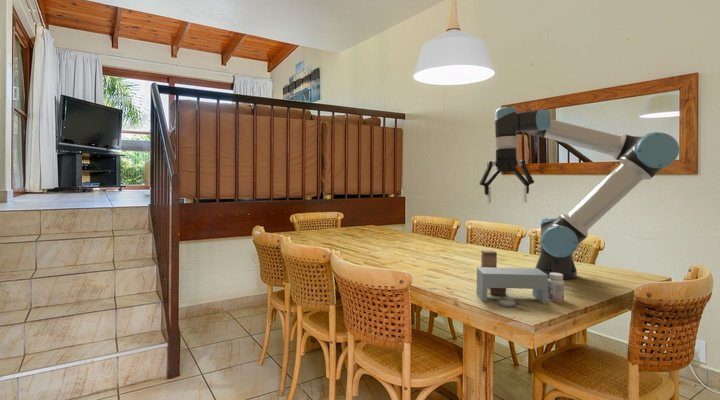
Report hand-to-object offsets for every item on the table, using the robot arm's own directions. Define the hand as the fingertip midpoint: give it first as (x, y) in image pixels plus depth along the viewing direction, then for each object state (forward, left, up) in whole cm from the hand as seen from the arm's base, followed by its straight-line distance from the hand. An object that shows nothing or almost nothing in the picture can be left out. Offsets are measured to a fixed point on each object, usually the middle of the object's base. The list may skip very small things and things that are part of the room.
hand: (506, 202), depth 151 cm
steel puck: (+8, +34, -30) cm, 46 cm away
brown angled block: (+8, +14, -30) cm, 34 cm away
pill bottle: (-9, +27, -30) cm, 41 cm away
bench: (+5, +26, -30) cm, 40 cm away
